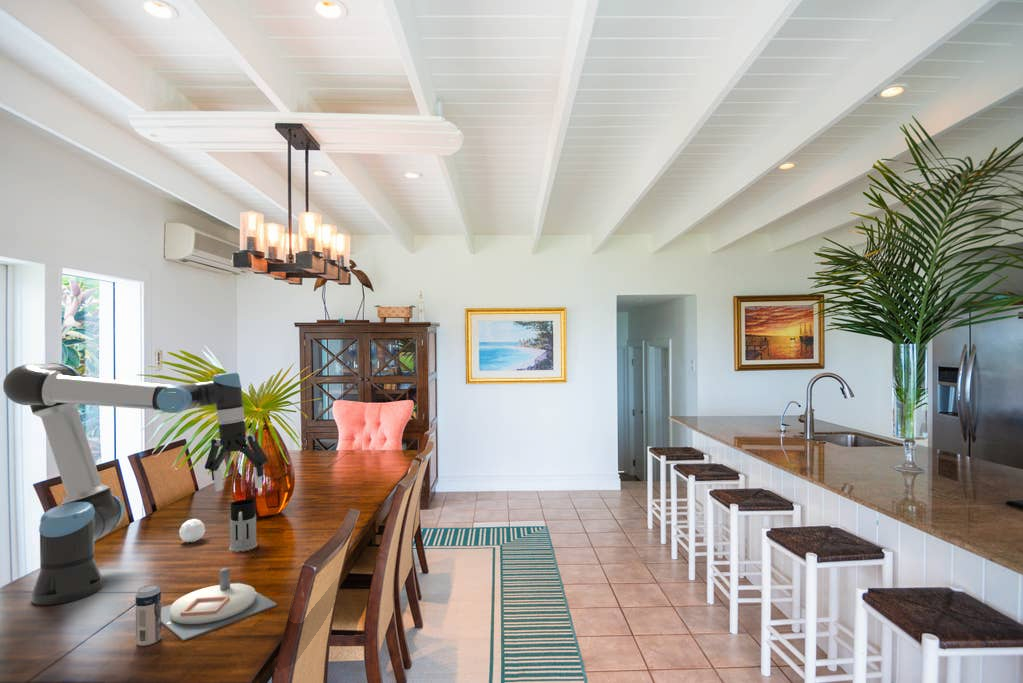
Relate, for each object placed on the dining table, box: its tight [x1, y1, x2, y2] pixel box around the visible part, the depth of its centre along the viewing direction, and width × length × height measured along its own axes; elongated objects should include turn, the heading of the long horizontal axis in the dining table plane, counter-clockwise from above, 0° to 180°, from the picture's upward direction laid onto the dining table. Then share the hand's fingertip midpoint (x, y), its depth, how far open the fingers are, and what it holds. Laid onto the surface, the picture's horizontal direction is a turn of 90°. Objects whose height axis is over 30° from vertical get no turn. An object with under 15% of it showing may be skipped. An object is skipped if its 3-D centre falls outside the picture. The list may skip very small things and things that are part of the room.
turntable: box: [170, 567, 256, 624], centre depth 140 cm, size 19×19×7 cm
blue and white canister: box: [135, 584, 162, 647], centre depth 125 cm, size 5×5×12 cm
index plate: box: [161, 581, 278, 642], centre depth 140 cm, size 22×22×1 cm
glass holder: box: [228, 499, 258, 553], centre depth 183 cm, size 9×14×15 cm, turn 20°
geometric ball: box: [178, 518, 206, 543], centre depth 193 cm, size 8×8×8 cm
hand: (239, 488), depth 174 cm, fingers open, 13 cm apart
